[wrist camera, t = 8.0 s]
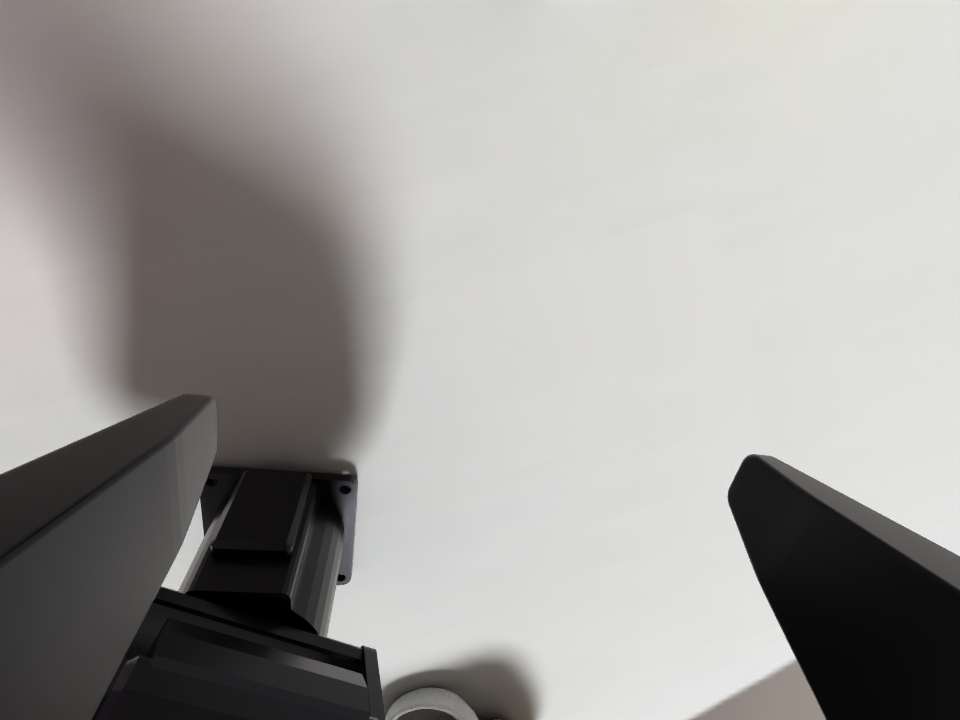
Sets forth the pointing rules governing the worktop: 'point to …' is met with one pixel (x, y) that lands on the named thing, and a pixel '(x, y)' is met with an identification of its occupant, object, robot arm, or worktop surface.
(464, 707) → the ceramic mug
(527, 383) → the worktop surface
